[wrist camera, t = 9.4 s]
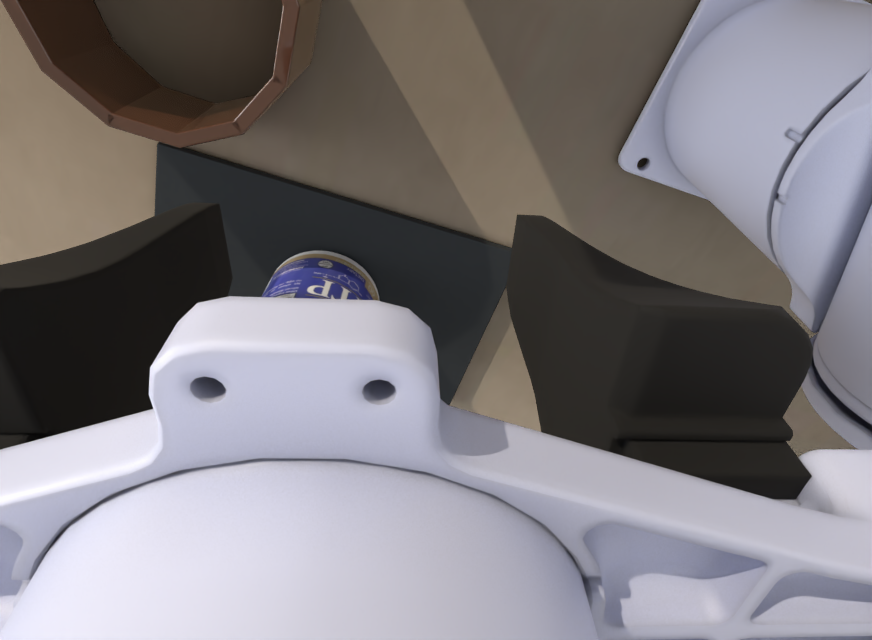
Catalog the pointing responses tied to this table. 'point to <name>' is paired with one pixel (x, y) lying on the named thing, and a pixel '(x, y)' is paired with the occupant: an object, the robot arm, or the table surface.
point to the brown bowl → (134, 88)
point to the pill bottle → (321, 278)
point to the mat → (346, 247)
